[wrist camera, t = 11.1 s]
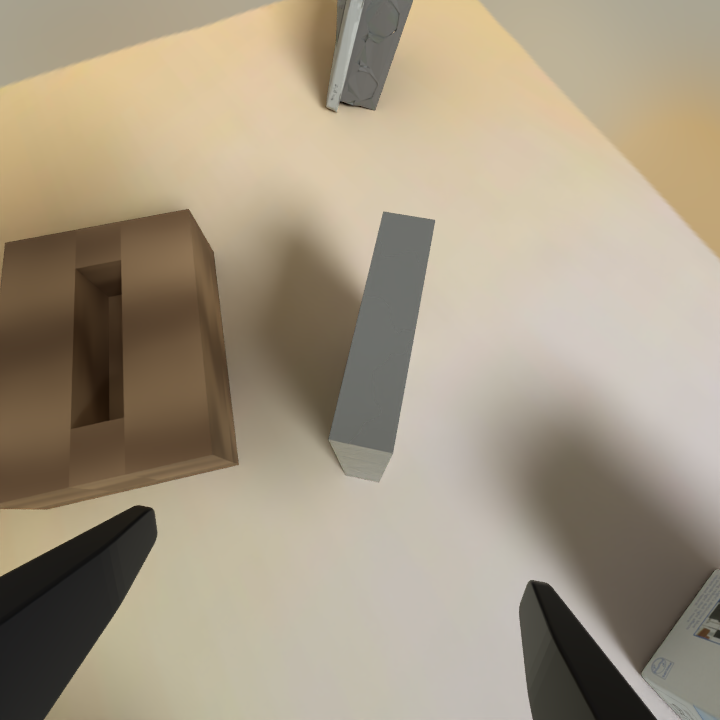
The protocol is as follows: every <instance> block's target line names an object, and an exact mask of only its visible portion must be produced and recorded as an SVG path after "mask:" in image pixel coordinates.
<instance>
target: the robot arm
mask: <svg viewBox="0 0 720 720" xmlns="http://www.w3.org/2000/svg"><path fill="white" fill-rule="evenodd" d="M156 538H157V526H156V519H155V512H154V510H153V509H152V508H151V507H145V506H140V505H137V506H134V507H132V508H130V509H128V510H126V511H124V512H122V513H120V514H118V515H116V516H114V517H113V518H111V519H109V520H107V521H105V522H103V523H101V524H99V525H97V526H96V527H94V528H92V529H90V530H88V531H86V532H84V533H82V534H80V535H78V536H77V537H75V538H73V539H71V540H69V541H67V542H65V543H63V544H61V545H59V546H58V547H56V548H54V549H52V550H50V551H48V552H46V553H44V554H42V555H40V556H39V557H37V558H35V559H33V560H31V561H29V562H27V563H25V564H23V565H22V566H20V567H18V568H16V569H14V570H12V571H10V572H8V573H6V574H4V575H3V576H1V577H0V720H44V719H45V717H46V716H47V714H48V713H49V711H50V710H51V708H52V707H53V705H54V704H55V702H56V701H57V699H58V698H59V696H60V695H61V693H62V692H63V690H64V689H65V687H66V686H67V684H68V683H69V681H70V680H71V678H72V677H73V675H74V674H75V672H76V671H77V669H78V668H79V666H80V665H81V663H82V662H83V661H84V659H85V658H86V656H87V655H88V653H89V652H90V650H91V649H92V647H93V646H94V644H95V643H96V641H97V640H98V638H99V637H100V635H101V634H102V632H103V631H104V629H105V628H106V626H107V625H108V623H109V622H110V620H111V619H112V617H113V616H114V614H115V613H116V611H117V610H118V608H119V606H120V605H121V603H122V601H123V600H124V598H125V596H126V595H127V593H128V591H129V589H130V587H131V585H132V584H133V582H134V580H135V578H136V576H137V574H138V573H139V571H140V569H141V567H142V565H143V563H144V562H145V560H146V558H147V556H148V554H149V552H150V551H151V549H152V547H153V545H154V543H155V541H156ZM519 618H520V627H521V637H522V646H523V655H524V664H525V673H526V682H527V690H528V697H529V702H530V708H531V712H532V717H533V720H657V719H656V717H655V716H654V715H653V714H652V712H651V711H650V710H649V709H648V707H647V706H646V705H645V704H644V702H643V701H642V700H641V699H640V697H639V696H638V695H637V694H636V692H635V691H634V690H633V688H632V687H631V686H630V685H629V683H628V682H627V681H626V680H625V678H624V677H623V676H622V675H621V673H620V672H619V671H618V670H617V668H616V667H615V666H614V665H613V663H612V662H611V661H610V660H609V658H608V657H607V656H606V654H605V653H604V652H603V651H602V649H601V648H600V647H599V646H598V644H597V643H596V642H595V641H594V639H593V638H592V637H591V636H590V634H589V633H588V632H587V631H586V629H585V628H584V627H583V626H582V624H581V623H580V622H579V620H578V619H577V618H576V617H575V615H574V614H573V613H572V612H571V610H570V609H569V608H568V607H567V605H566V604H565V603H564V602H563V600H562V599H561V598H560V597H559V595H558V594H557V593H556V592H555V590H554V589H553V588H552V587H551V586H550V585H549V584H548V583H545V582H540V581H534V580H530V581H529V582H528V584H527V586H526V589H525V591H524V594H523V597H522V600H521V603H520V607H519Z"/></svg>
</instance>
